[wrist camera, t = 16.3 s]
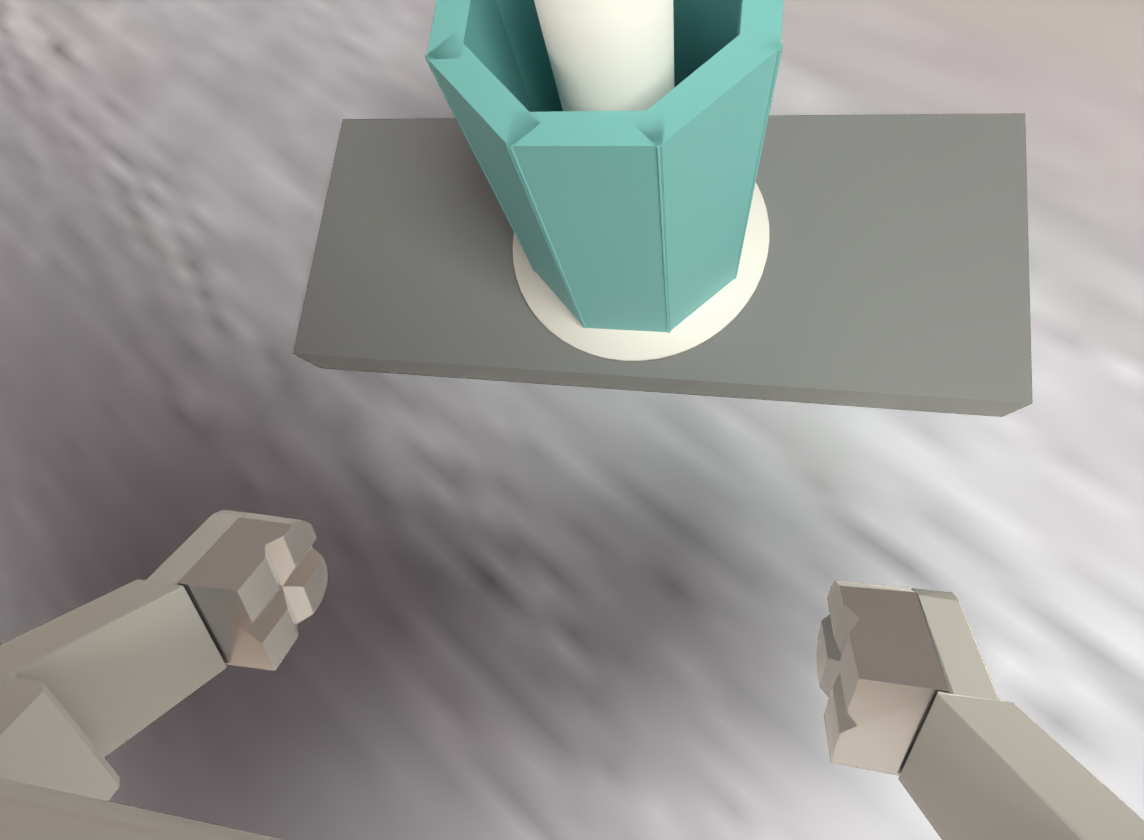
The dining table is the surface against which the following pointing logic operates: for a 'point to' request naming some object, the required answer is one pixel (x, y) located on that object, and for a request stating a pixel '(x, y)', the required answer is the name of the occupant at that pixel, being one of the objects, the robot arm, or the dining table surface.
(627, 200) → the collar
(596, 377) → the post stand
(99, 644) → the robot arm
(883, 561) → the dining table surface
